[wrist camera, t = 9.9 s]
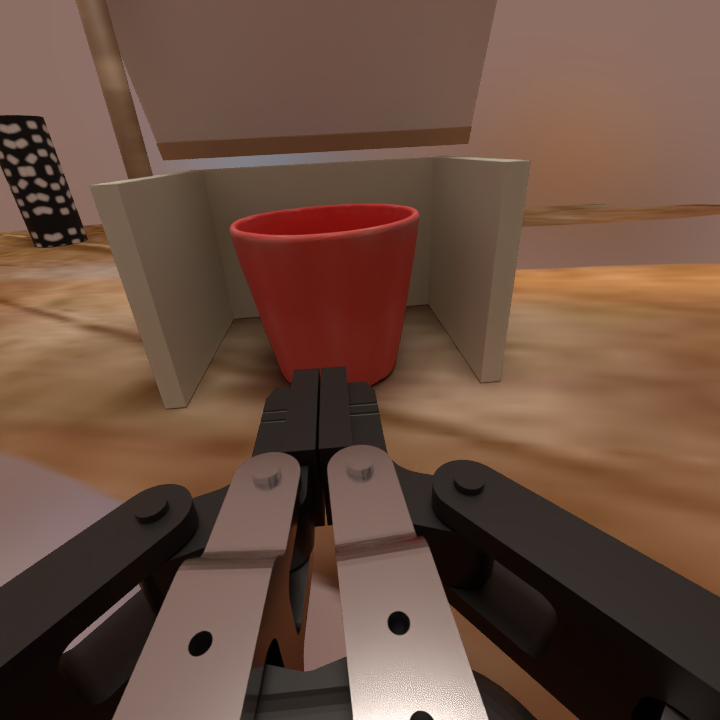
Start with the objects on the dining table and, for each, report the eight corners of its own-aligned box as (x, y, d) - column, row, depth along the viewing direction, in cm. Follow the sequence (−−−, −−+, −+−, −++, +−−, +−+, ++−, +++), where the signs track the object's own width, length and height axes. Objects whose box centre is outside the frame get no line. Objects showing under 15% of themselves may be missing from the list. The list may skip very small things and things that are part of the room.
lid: (468, 143, 30) (464, 137, 31) (537, -192, 18) (530, -192, 19) (163, 160, 29) (166, 153, 30) (20, -184, 17) (29, -185, 18)
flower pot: (221, 387, 25) (181, 227, 20) (316, 324, 33) (303, 201, 29) (372, 430, 20) (364, 237, 16) (437, 344, 29) (444, 202, 24)
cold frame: (438, 299, 37) (444, 156, 32) (500, 381, 24) (530, 160, 18) (223, 314, 36) (190, 170, 31) (165, 408, 23) (89, 185, 17)
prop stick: (201, 344, 31) (88, -80, 20) (196, 352, 30) (73, -96, 18) (182, 346, 31) (59, -79, 20) (177, 354, 29) (41, -95, 18)
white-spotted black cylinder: (97, 238, 76) (54, 116, 67) (54, 248, 69) (0, 114, 60) (68, 237, 79) (23, 120, 69) (24, 246, 72) (-33, 118, 63)
